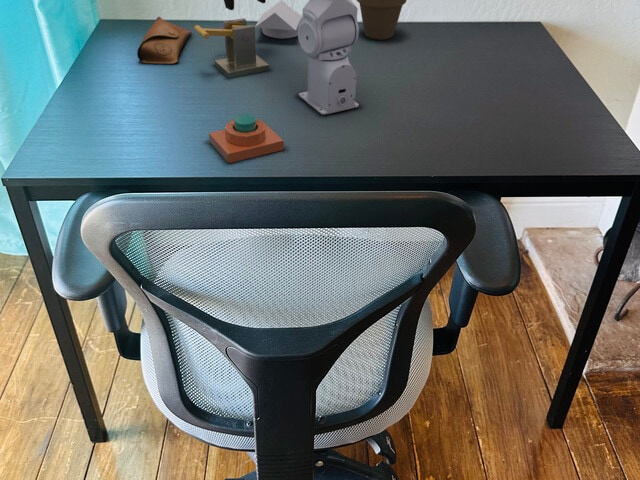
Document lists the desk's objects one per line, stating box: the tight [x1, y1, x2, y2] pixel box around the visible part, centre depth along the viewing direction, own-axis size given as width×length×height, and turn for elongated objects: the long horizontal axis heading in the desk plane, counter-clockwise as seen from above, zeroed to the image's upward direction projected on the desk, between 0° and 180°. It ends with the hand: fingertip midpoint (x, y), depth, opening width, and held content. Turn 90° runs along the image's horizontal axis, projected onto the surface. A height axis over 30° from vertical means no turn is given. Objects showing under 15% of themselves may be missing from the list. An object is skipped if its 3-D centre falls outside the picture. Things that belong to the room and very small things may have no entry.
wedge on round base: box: [254, 0, 302, 39], centre depth 148 cm, size 9×7×13 cm
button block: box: [208, 118, 285, 164], centre depth 110 cm, size 8×10×4 cm
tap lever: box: [194, 24, 244, 40], centre depth 129 cm, size 10×5×2 cm, turn 120°
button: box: [233, 113, 257, 133], centre depth 108 cm, size 4×4×2 cm
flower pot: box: [356, 0, 407, 41], centre depth 148 cm, size 12×11×10 cm
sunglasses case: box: [136, 16, 192, 65], centre depth 141 cm, size 18×7×7 cm, turn 0°
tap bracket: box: [213, 17, 270, 79], centre depth 132 cm, size 9×7×9 cm
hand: (245, 5), depth 133 cm, fingers open, 7 cm apart
